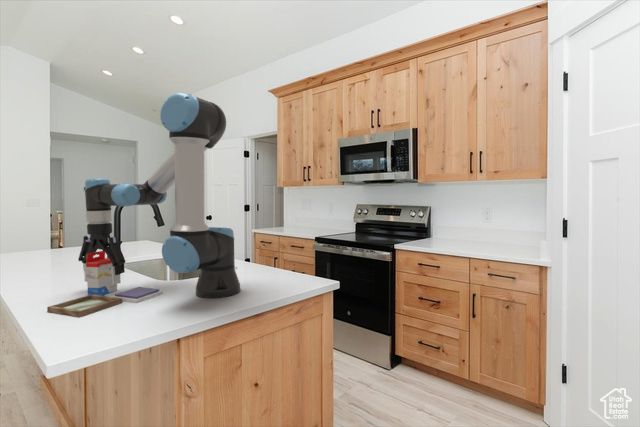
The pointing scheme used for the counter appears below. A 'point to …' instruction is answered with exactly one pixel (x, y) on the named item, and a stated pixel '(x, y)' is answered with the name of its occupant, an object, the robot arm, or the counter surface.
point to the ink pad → (138, 294)
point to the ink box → (99, 274)
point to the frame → (84, 305)
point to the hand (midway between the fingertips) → (102, 282)
